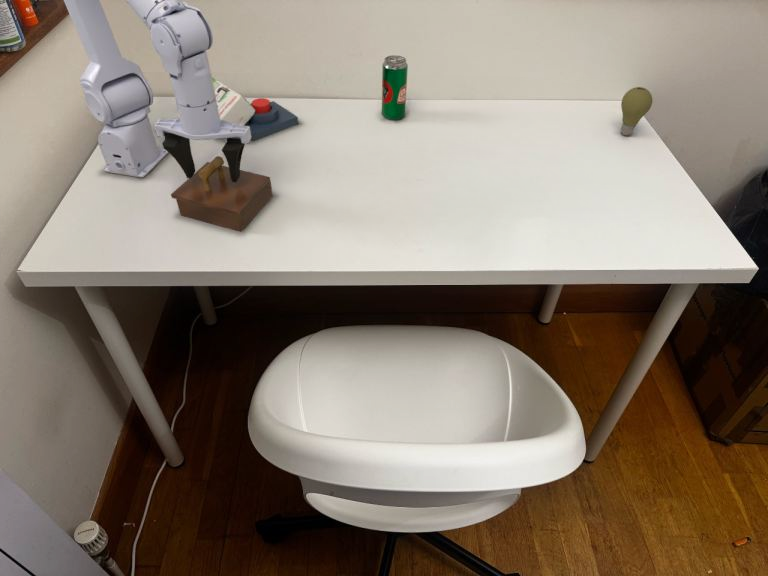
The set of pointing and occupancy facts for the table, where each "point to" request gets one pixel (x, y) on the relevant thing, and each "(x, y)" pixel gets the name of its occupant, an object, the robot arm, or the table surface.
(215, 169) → the chest lid
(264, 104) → the button
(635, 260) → the table surface
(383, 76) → the soda can
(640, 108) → the light bulb
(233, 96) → the ink box
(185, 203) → the chest
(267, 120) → the box
